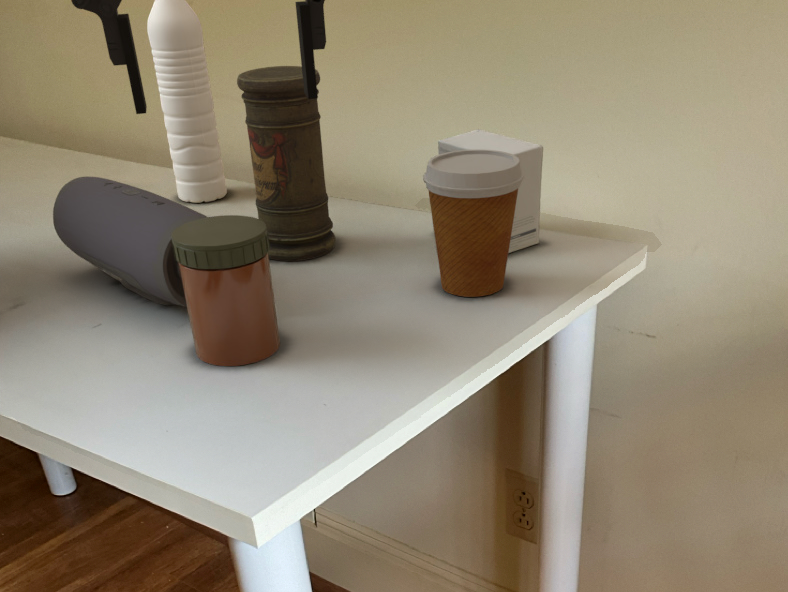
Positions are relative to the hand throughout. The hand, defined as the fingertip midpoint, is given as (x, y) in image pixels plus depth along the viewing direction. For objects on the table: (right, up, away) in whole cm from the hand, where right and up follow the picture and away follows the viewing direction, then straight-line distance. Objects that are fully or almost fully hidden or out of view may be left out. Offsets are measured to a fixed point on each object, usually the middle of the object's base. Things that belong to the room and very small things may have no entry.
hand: (227, 103), depth 71 cm
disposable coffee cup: (+21, -10, +19) cm, 30 cm away
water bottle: (-12, +11, +48) cm, 50 cm away
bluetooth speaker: (-12, -9, +21) cm, 26 cm away
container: (+2, -2, +30) cm, 30 cm away
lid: (-1, -10, +3) cm, 10 cm away
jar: (-1, -18, +9) cm, 20 cm away
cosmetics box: (+24, -1, +30) cm, 38 cm away
